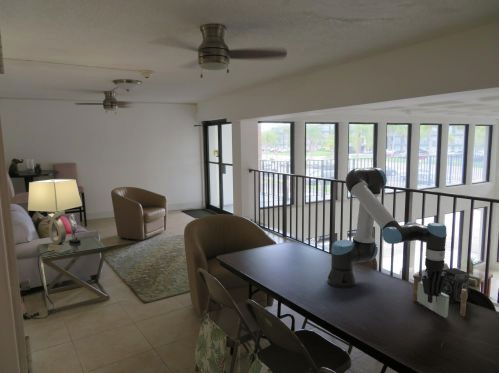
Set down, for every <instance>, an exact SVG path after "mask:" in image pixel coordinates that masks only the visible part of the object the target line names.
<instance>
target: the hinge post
mask: <svg viewBox="0 0 499 373" xmlns="http://www.w3.org/2000/svg"><path fill="white" fill-rule="evenodd" d="M412 278H413V287H412V289H413V290H412V302H415V303H416V302H417V303H419V302H418V301H417V292H418V282H420V279H421V276H420V274H419V275H418V274H413V275H412Z"/></svg>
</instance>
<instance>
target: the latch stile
mask: <svg viewBox="0 0 499 373" xmlns="http://www.w3.org/2000/svg"><path fill="white" fill-rule="evenodd" d="M467 300H468V298H467V290H466V289H462V292H461V302H460V308H459V316H461V317H465V316H466V312H467Z"/></svg>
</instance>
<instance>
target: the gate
mask: <svg viewBox="0 0 499 373" xmlns="http://www.w3.org/2000/svg"><path fill="white" fill-rule="evenodd" d="M438 295H439V296H437V301H436V305H435V310H433V312H435V313H436V314H438V315H439V316H442V317H443V318H448V316H449V304H450V301H449V296H448V295H446V294H444V293H442V292H441V294H438ZM417 301H418V302H417V303H419V304H421V305H423V306H425V307H427V308H428V295H427V294H425V293H424V289H423V283H422V280H419V282H418V292H417Z"/></svg>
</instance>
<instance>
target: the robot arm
mask: <svg viewBox="0 0 499 373" xmlns="http://www.w3.org/2000/svg"><path fill="white" fill-rule="evenodd" d="M387 179H388V177H387V175H386V173H385V171H384V170H383V169H382V168H379V167H356V168H353V169H352V170H350V171H349V172H348V173H347V174H346V177H345V187H346V189H347V191H348V193H349V194H350V195H351V196H352V197H355V198H356V199H357V200H358V202H359V205H358V206H359V207H358V214H357V215H358V216H357V223H356V233H355V234H354V235H353V237H352V240H350V239H339V240H336V241H334V242H333V243H331V244H332V245H331V250H330V252H331V259H330V260H331V262H330V263H331V267H330V271H329V273H328V276H327V283H328V284H329V285H330V286H333V287H337V288H341V289H343V288H345V289H347V288H353V287H354V286H356V282H357V280H356V277H355V273H354V266H353V265H354V264H358V263H364V262H365V263H366V262H369V261H372V260H374V259H375V258H376V257H377V255H378V253H379V252H378V251H379V250H378V246H377V245H378V244H377V243H376V241H375V239H374V237H373V233H374V232H373V231H374V225H375V224H374V222H375V223H376V224H377V225H378V227H379V228H380V229H381V230H382V231H381V236H382V240H383V241H384V242H385V244H386V243H387V244H392V245H395V244H400V243H401V244H402V243H408V242H413V241H419V242H422V243H425V259H424V265H425V269H424V273H420V274H419V276H420V279H421V282H422V283H423V289H424V293H425V294H427V295H428V307H427V309H430V310H431V311H433V310H435V305H436V301H437V296H439V295H438V294H441V292H442V288H443V285H444V281H445V278H446V276H447V273H445V272H443V269H444V268H445V258H446V245H447V244H446V242H447V236H448V234H447V226H446V224H443V223H439V222H430V223H429V222H428V224H427V225H424V224H421V223H417V222H412V221H407V222H406V223H405V224H403V225H401V224H400V223H399V222H398V221H397V220H396V219H395V218H394V217H393V215H392V214H391V213H390V212H389V211H388V209H387V208H386V207H385V205H383V203H382V202H381V201H380V200H379V199H378V196H379V195H381V192H382V189H384V188H385V187H386V185H387V183H388V180H387ZM433 312H434V311H433Z"/></svg>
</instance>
